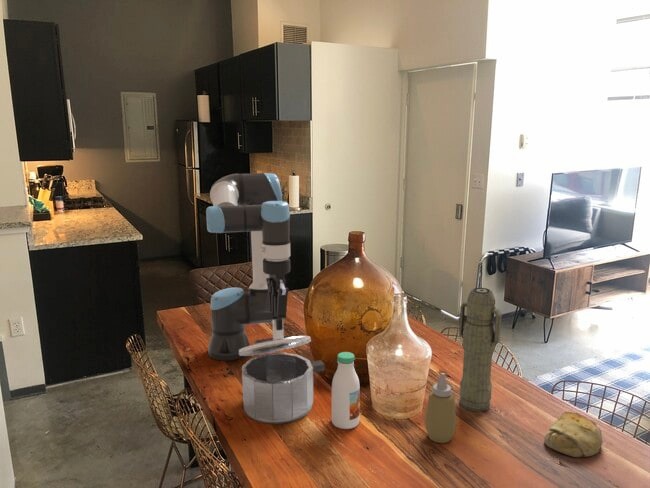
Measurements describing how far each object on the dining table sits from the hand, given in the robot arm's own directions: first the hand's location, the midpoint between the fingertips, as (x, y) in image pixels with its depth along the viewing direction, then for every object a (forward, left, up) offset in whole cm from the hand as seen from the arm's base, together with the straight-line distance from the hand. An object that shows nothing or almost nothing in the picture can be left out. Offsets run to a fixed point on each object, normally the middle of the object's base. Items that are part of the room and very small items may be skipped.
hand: (278, 339), depth 146 cm
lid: (-1, -3, -4) cm, 5 cm away
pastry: (-44, +65, -22) cm, 82 cm away
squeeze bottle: (-22, +40, -22) cm, 51 cm away
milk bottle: (-9, +18, -22) cm, 30 cm away
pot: (-3, -2, -21) cm, 22 cm away
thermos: (-44, +37, -22) cm, 61 cm away
